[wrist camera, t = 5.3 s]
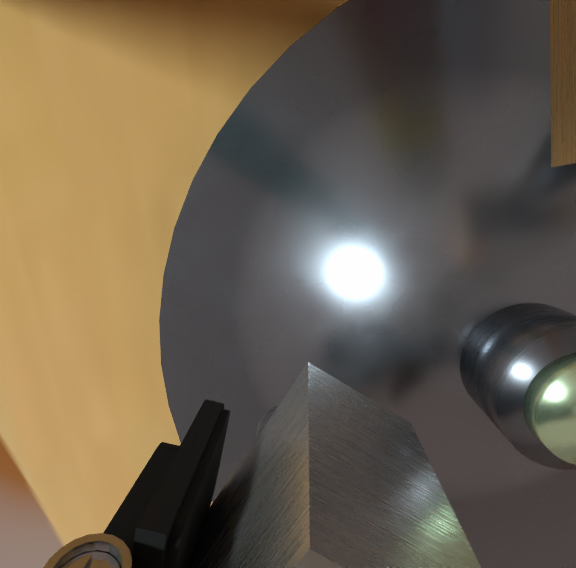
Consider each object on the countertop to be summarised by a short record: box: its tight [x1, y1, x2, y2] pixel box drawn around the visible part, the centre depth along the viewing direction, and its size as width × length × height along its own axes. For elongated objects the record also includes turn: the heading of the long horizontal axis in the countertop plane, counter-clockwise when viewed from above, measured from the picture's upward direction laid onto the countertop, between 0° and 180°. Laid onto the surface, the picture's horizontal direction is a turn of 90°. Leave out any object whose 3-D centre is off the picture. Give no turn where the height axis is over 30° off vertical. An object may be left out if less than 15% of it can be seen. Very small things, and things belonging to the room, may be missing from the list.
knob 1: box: [190, 362, 481, 568], centre depth 8 cm, size 7×3×8 cm, turn 149°
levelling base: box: [159, 0, 576, 568], centre depth 10 cm, size 24×24×4 cm
